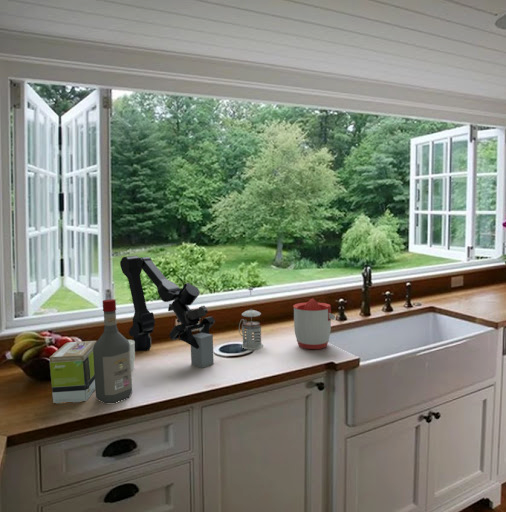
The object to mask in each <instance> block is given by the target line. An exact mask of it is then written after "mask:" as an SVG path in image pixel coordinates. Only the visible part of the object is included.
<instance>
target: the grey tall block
mask: <svg viewBox="0 0 506 512" xmlns="http://www.w3.org/2000/svg"><path fill="white" fill-rule="evenodd" d="M192 335H193V337H194V339H195V340H196V342H197V344H198V346H199V348H198V349H196V348H194V347H193V346H191V345H190V360H191V363H190V364H191V366H193V367H198V368H201V369H203V368H206V367H208V366H211V365H214V360H215V359H214V338H213V337H214V336H213V334H211V333H209V334H207V333H203V332H201V333H199V332H197V333H196V334H192Z"/></svg>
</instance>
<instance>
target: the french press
mask: <svg viewBox="0 0 506 512" xmlns="http://www.w3.org/2000/svg"><path fill="white" fill-rule="evenodd" d="M247 290H248V291H249V292H250V294H252V291H253V290H254V288H253V287H250V286H249V288H248V289H247ZM261 315H262V313H261V312H260V311H257V310H254V309H248V310H245V311H244V312H242V313H241V316H242V317H245V319H244V318H242V319H240V322H239V325H238V331H239V332H238V333H239V334H240V336H241V337H242V344H241V345H242V348H241V349H243V348H244V350H249V349H254V350H259V349H262V348H264V346H265V345H264V344H263V343H262V326H261V323H260V322H259V321H252V320H253V319H252V318H256V317H260V316H261ZM247 318H250V321H249V320H248V321H247ZM241 322H242V324H241ZM240 325H241V329H240ZM240 330H241V331H240ZM241 333H242V334H241Z"/></svg>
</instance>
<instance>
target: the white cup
mask: <svg viewBox="0 0 506 512" xmlns="http://www.w3.org/2000/svg"><path fill="white" fill-rule="evenodd" d="M127 340H128V341H129V344H130V358H131V372H132V371H134V370H135V360H136V359H135V357H136V351H135V341H134V340H133V339H127Z"/></svg>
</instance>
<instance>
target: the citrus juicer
mask: <svg viewBox="0 0 506 512" xmlns="http://www.w3.org/2000/svg"><path fill="white" fill-rule="evenodd" d="M292 307H293V327H294V334H295V339H296V342H297V344H298V346H299V347H300V348H301V349H308V350H322V349H325V348H326V347H327V346H328V343H329V342H330V341H329V339H330V336H331V330H332V329H331V328H332V323H331V321H333V320H334V321H336V315H335V314H333V313H332V307H331V304H328V303H326V302H317V300H315V299H314V298H310V299H309V300H308V301H307V302H306V301H305V302H298V303H295V304H293V306H292Z"/></svg>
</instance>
